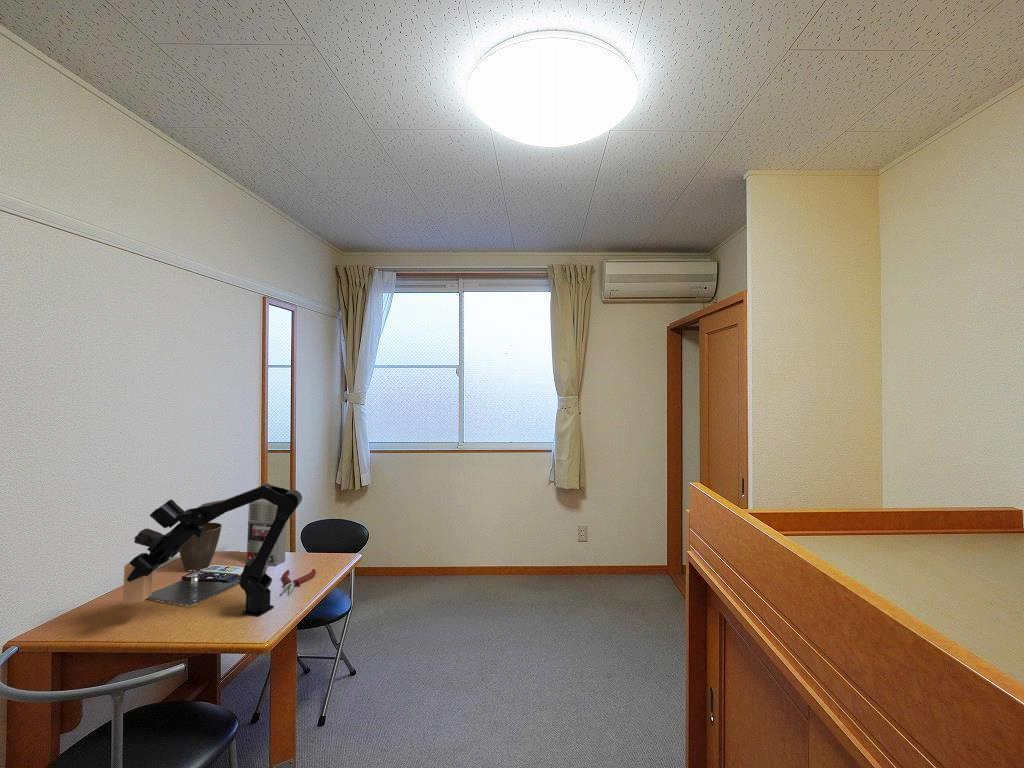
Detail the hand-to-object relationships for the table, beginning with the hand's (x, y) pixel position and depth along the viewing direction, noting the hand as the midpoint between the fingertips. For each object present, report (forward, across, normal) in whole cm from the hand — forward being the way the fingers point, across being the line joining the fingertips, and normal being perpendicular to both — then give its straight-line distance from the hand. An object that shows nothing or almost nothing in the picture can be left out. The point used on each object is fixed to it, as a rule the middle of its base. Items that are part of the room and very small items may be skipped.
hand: (133, 577), depth 135 cm
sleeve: (+4, 0, +6) cm, 7 cm away
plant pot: (+8, -44, +11) cm, 46 cm away
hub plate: (+3, -21, +16) cm, 26 cm away
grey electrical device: (-8, -45, +28) cm, 54 cm away
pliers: (-18, -21, +38) cm, 47 cm away
